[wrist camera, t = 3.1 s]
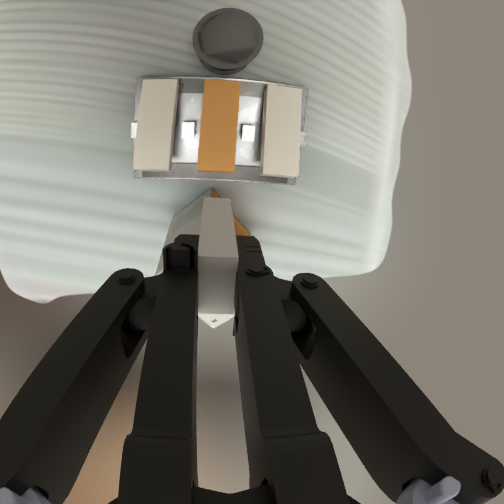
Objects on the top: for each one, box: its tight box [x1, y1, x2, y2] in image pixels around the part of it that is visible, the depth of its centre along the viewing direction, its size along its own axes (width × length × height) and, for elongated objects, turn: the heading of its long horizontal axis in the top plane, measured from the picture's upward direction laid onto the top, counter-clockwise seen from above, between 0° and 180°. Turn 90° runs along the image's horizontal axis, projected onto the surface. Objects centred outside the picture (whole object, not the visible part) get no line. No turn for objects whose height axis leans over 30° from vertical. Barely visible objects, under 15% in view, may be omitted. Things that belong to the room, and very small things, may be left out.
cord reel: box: [193, 8, 263, 75], centre depth 23 cm, size 6×6×8 cm
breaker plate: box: [131, 77, 309, 185], centre depth 30 cm, size 11×18×4 cm, turn 84°
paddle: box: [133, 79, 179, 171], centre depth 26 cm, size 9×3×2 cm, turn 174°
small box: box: [155, 188, 251, 328], centre depth 32 cm, size 8×6×13 cm
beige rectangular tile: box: [259, 84, 302, 178], centre depth 28 cm, size 9×3×2 cm, turn 174°
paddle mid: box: [197, 79, 241, 174], centre depth 27 cm, size 9×3×2 cm, turn 174°
